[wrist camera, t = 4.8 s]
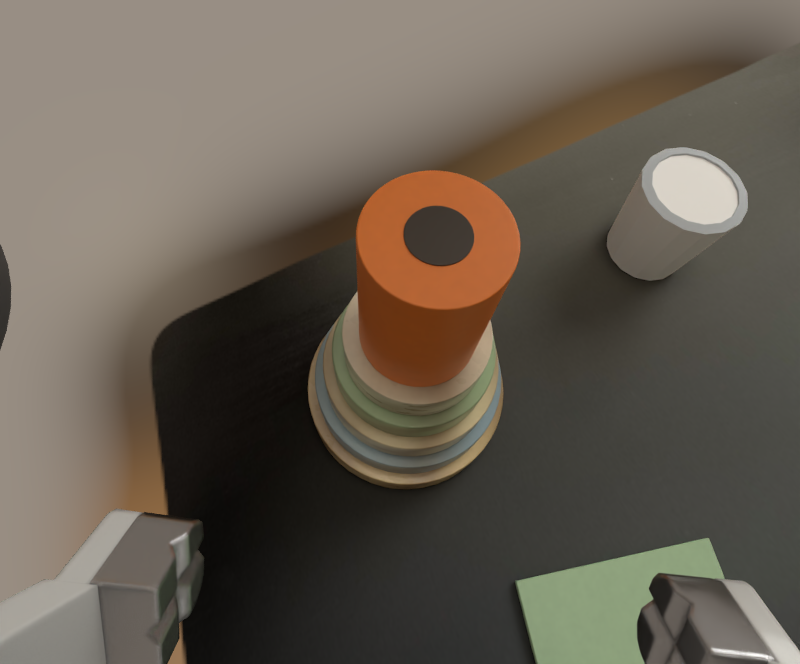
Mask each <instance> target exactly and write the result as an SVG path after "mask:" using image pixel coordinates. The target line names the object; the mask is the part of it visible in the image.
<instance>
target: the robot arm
mask: <svg viewBox="0 0 800 664" xmlns="http://www.w3.org/2000/svg"><path fill="white" fill-rule="evenodd" d="M202 540H203V523H202V522H201V521H200V520H196V519H189V518H182V517H175V516H168V515H161V514H154V513H146V512H144V513H141V512H134V511H128V510H120V509H115V510H113V511H112V512H109V513H108V514H107V515H106V516H105V517H104V519H103V520H102V521H101V522H100V524H99V525H98V526H97V527H96V529H95V530H94V531H93V532H92V533H91V535H90V536H89V537H88V538H87V540H86V541H85V542H84V543H83V544H82V546H81V547H80V548H79V549H78V551H77V552H76V553H75V554H74V556H73V557H72V558H71V559H70V560H69V562H68V563H67V564H66V565H65V567H64V568H63V569H62V570H61V572H60V573H59V574H58V575H57V576H56V578H55V579H54V580H47V579H44V580H42V581H40V582H38V583H36V584H34V585H33V586H31V587H29V588H27V589H25V590H23V591H21V592H19V593H17V594H15V595H14V596H12V597H10V598H8V599H6V600H4V601H2V602H0V664H167V663H168V661H169V659H170V657H171V655H172V653H173V651H174V648H175V646H176V644H177V642H178V640H179V623H180V622H181V621H182V620H184V619H185V618H187V617H188V616H189V615H190V614H191V612H192V610H193V608H194V606H195V603H196V601H197V598H198V595H199V591H200V588H201V584H202V580H203V572H204V557H203V556H202V555H201V554H200V552H199V551H198V550H197V549H198V547H199V545H200V543H201V542H202ZM649 591H650V593H651V595H652V597H653V600H652V601H650V602H649V603H647V604H646V605H645V606H643V607H642V608H641V611H640V614H639V617H638V620H637V641H638V645H639V650H640V653H641V656H642V658H643V661H644V663H645V664H800V651H799V650H798V649H797V647H796V646H795V644H794V643H793V642H792V640H791V639H790V638H789V636H788V635H787V634H786V632H785V631H784V629H783V628H782V627H781V625H780V624H779V623H778V621H777V620H776V619H775V617H774V616H773V614H772V613H771V612H770V610H769V609H768V608H767V606H766V605H765V604H764V602H763V601H762V600H761V598H760V597H759V595H758V594H757V593H756V591H755V590H754V589H753V587H751V586H750V585H749V584H747V583H746V582H744V581H737V580H727V579H717V578H715V579H712V578H704V577H695V576H686V575H676V574H667V573H658V574H657V575H656V576H655V577H654V578H653V579H652V582H651V584H650V587H649Z"/></svg>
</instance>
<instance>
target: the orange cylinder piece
mask: <svg viewBox="0 0 800 664" xmlns="http://www.w3.org/2000/svg"><path fill="white" fill-rule="evenodd" d="M519 255H520V235H519V231H518V227H517V224H516V222H515V219H514V217H513V215H512V213H511V212H510V210H509V208H508V207H507V206H506V204H505V203H504V202H503V201H502V200H501V199H500V198H499V197H498V196H497V195H496V194H495V193H494V192H493V191H492V190H490V189H489V188H488V187H486V186H484V185H483V184H481V183H480V182H478V181H475V180H473V179H471V178H469V177H466V176H463V175H460V174H456V173H452V172H445V171H420V172H414V173H410V174H407V175H403V176H400V177H398V178H396V179H393V180H392V181H390V182H388V183H387V184H385V185H384V186H382V187H381V188H380V189H378V190H377V191H376V192H375V193H374V194H373V195H372V196H371V197H370V199H369V200H368V201H367V203H366V204H365V206H364V208H363V209H362V211H361V214H360V216H359V220H358V223H357V228H356V256H357V287H358V317H359V337H360V343H361V347H362V349H363V352H364V354H365V356H366V357H367V359H368V361H369V362H370V363H371V364H372V366H373V367H374V368H375V369H376V370H377V371H378V372H379V373H381V374H382V375H383V376H385V377H387V378H388V379H390V380H392V381H394V382H397V383H399V384H403V385H406V386H413V387H428V386H434V385H438V384H441V383H443V382H446V381H448V380H450V379H451V378H453V377H454V376H456V375H457V374H459V373H460V372H461V371H462V370H463V369H464V368H465V366H466V365H467V364H468V362H469V361H470V359H471V357H472V355H473V353H474V351H475V349H476V347H477V345H478V343H479V341H480V339H481V337H482V335H483V333H484V331H485V329H486V327H487V325H488V323H489V321H490V319H491V317H492V315H493V313H494V311H495V309H496V307H497V305H498V303H499V301H500V299H501V297H502V295H503V293H504V291H505V289H506V287H507V285H508V283H509V281H510V279H511V277H512V275H513V273H514V271H515V269H516V266H517V264H518V260H519Z"/></svg>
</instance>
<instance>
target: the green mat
mask: <svg viewBox="0 0 800 664" xmlns="http://www.w3.org/2000/svg"><path fill="white" fill-rule="evenodd" d="M658 573H667V574H676V575H686V576H695V577H704V578H712V579H715V578H717V579H725V578H724V575H723V573H722V570H721V568H720V565H719V563H718V560H717V558H716V555H715V553H714V550H713V548H712V545H711V543H710V540H709V538H704V539H699V540H695V541H690V542H686V543H681V544H677V545H673V546H668V547H664V548H659V549H655V550H650V551H646V552H642V553H637V554H633V555H628V556H624V557H619V558H615V559H611V560H606V561H602V562H597V563H593V564H588V565H584V566H580V567H575V568H571V569H566V570H562V571H557V572H553V573H548V574H544V575H540V576H535V577H531V578H526V579H522V580H517V581H515V585H516V588H517V592H518V596H519V600H520V604H521V608H522V612H523V616H524V620H525V624H526V628H527V632H528V636H529V639H530V643H531V647H532V651H533V655H534V659H535V663H536V664H645V663H644V661H643V658H642V656H641V653H640V650H639V645H638V641H637V620H638V617H639V614H640V611H641V608H642V607H643V606H645V605H646V604H647V603H649V602H650V601H652V600H653V597H652V595H651V593H650V591H649V587H650V584H651V582H652V579H653V578H654V577H655V576H656V575H657V574H658Z"/></svg>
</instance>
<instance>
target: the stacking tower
mask: <svg viewBox="0 0 800 664" xmlns="http://www.w3.org/2000/svg"><path fill="white" fill-rule="evenodd" d="M308 400H309V406H310V410H311V415H312V417H313V420H314V423H315V426H316V429H317V431H318V434H319V436H320V438H321V439H322V441H323V443H324V445H325V446H326V448H327V449H328V451H329V452H330V453H331V455H332V456H333V457H334V458H335V459H336V460H337V461H338V462H339V463H340V464H341V465H342V466H343V467H345V468H346V469H347V470H348V471H350V472H351V473H353V474H354V475H356V476H358V477H359V478H361V479H363V480H366V481H368V482H370V483H373V484H376V485H379V486H383V487H388V488H394V489H416V488H424V487H428V486H432V485H435V484H438V483H440V482H443V481H445V480H448V479H449V478H451V477H453V476H454V475H456V474H458V473H459V472H461V471H462V470H463V469H464V468H466V467H467V466H468V465H469V464H470V463H471V462H472V461H473V460H474V459H475V458H476V457H477V456H478V455H479V454H480V453H481V452H482V451H483V449H484V448H485V447H486V445H487V444H488V442H489V441H490V439H491V438H492V436H493V434H494V432H495V430H496V427H497V425H498V422H499V419H500V415H501V410H502V405H503V382H502V376H501V372H500V366H499V361H498V356H497V352H496V347H495V342H494V337H493V332H492V325H491V321H489V323H488V325H487V327H486V329H485V331H484V333H483V335H482V337H481V339H480V341H479V343H478V345H477V347H476V349H475V351H474V353H473V355H472V357H471V359H470V361H469V362H468V364H467V365H466V366H465V368H464V369H463V370H462V371H461V372H460V373H459V374H457V375H456V376H454V377H453V378H451V379H450V380H448V381H446V382H443V383H441V384H438V385H434V386H428V387H413V386H406V385H403V384H399V383H397V382H394V381H392V380H390V379H388V378H387V377H385V376H383V375H382V374H381V373H379V372H378V371H377V370H376V369H375V368H374V367H373V366H372V364H371V363H370V362H369V361H368V359H367V357H366V356H365V354H364V352H363V349H362V347H361V343H360V337H359V317H358V291H357V292H356V294H355V295H354V297H353V298H352V300H351V301H350V303H349V304H348V305H347V307H346V308H345V310H344V311H343V313H342V314H341V315H340V316H339V318H338V319H337V321H336V322H335V323H334V325H333V326H332V327H331V329H330V330H329V332H328V333H327V334H326V336H325V337H324V339H323V340H322V342H321V343H320V345H319V347H318V349H317V351H316V353H315V355H314V358H313V361H312V364H311V368H310V372H309V379H308Z"/></svg>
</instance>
